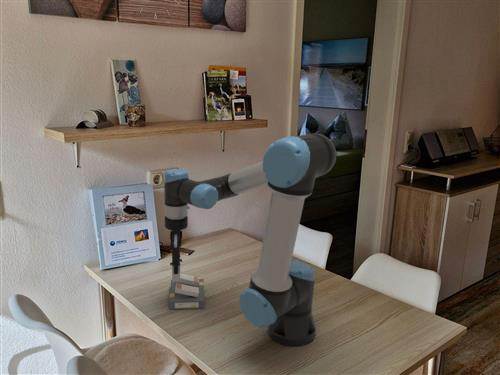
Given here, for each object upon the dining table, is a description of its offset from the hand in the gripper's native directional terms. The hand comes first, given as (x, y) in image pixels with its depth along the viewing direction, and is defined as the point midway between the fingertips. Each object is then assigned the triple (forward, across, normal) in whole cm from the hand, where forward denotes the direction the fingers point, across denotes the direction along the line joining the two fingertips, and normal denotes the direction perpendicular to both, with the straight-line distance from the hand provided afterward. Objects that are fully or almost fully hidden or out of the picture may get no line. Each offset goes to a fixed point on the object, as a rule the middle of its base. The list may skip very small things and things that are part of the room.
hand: (176, 280), depth 152 cm
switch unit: (+9, +4, -4) cm, 10 cm away
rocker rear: (+4, +8, -4) cm, 9 cm away
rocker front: (+4, 0, -4) cm, 5 cm away
